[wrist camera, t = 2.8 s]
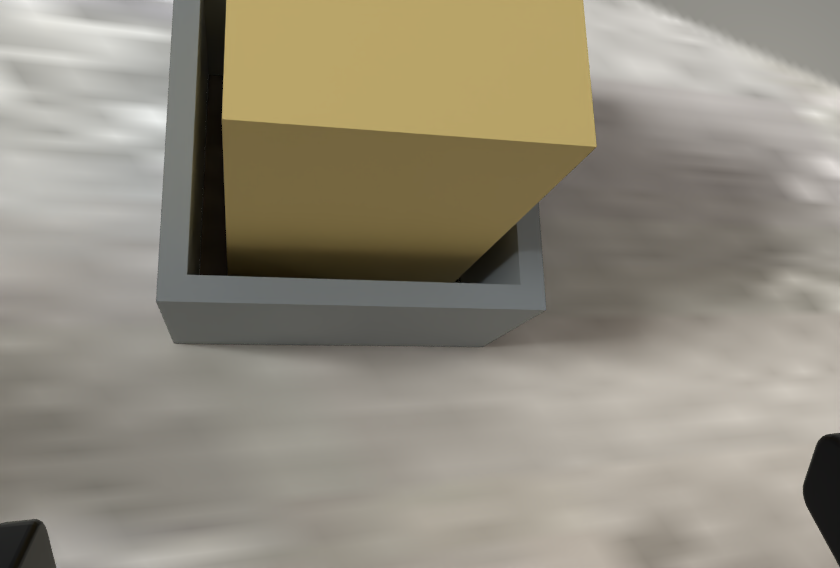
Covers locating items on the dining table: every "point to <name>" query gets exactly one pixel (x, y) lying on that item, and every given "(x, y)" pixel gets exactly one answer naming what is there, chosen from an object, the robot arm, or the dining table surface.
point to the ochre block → (395, 131)
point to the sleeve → (304, 297)
